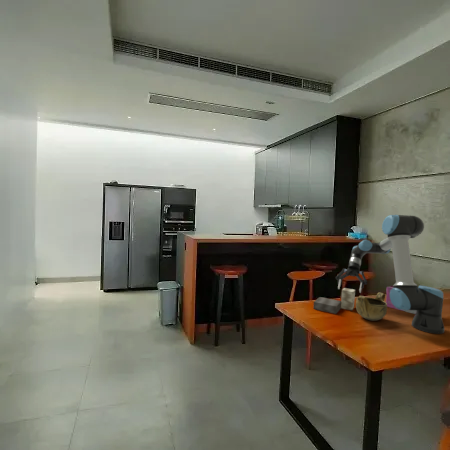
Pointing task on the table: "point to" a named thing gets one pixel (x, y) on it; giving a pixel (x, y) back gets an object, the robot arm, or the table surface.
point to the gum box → (389, 303)
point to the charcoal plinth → (327, 305)
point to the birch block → (347, 299)
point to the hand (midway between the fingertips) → (349, 289)
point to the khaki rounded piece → (372, 307)
